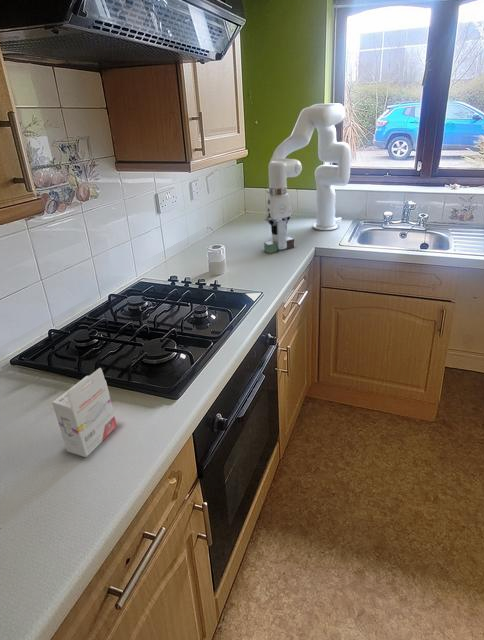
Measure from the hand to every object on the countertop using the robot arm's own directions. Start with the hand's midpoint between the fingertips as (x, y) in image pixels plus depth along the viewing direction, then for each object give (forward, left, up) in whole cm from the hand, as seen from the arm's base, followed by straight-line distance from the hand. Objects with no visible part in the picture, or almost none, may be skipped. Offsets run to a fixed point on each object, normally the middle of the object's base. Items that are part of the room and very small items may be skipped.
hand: (279, 232), depth 179 cm
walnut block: (-5, 0, -8) cm, 9 cm away
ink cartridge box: (+93, +71, -8) cm, 118 cm away
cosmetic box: (0, 0, -7) cm, 7 cm away
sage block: (+5, 0, -8) cm, 9 cm away
